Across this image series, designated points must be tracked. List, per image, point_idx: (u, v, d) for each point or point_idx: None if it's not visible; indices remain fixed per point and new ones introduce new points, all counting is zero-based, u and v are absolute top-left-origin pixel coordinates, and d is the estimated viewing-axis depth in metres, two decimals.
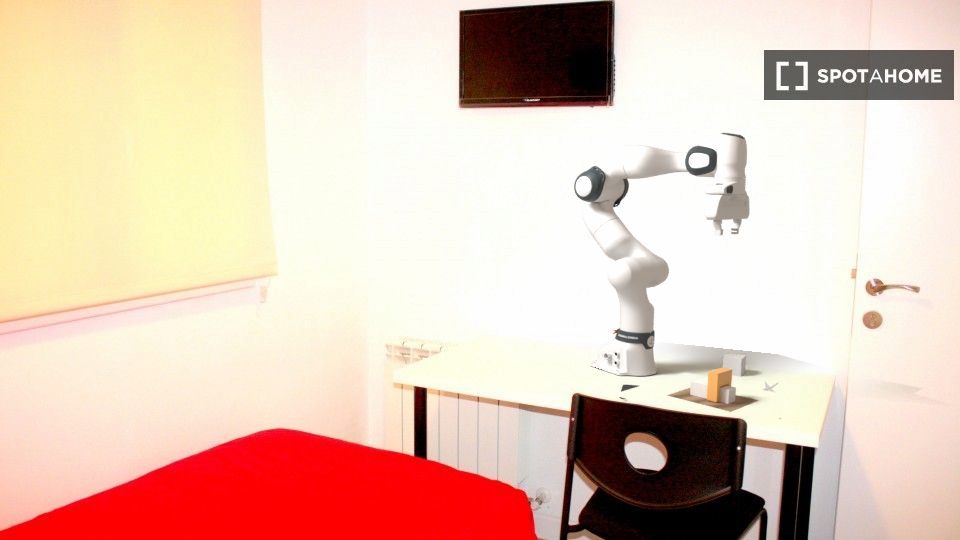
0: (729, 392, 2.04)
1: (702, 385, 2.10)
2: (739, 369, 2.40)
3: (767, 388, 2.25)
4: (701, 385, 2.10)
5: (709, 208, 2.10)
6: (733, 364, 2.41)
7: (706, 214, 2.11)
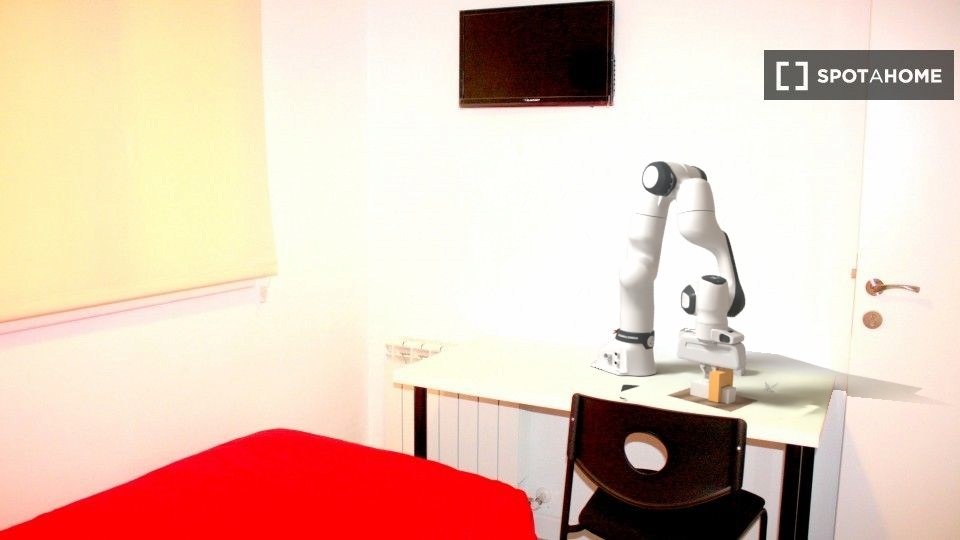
0: (729, 392, 2.04)
1: (702, 385, 2.10)
2: None
3: (767, 388, 2.26)
4: (701, 385, 2.10)
5: (742, 358, 2.02)
6: None
7: (740, 365, 2.01)
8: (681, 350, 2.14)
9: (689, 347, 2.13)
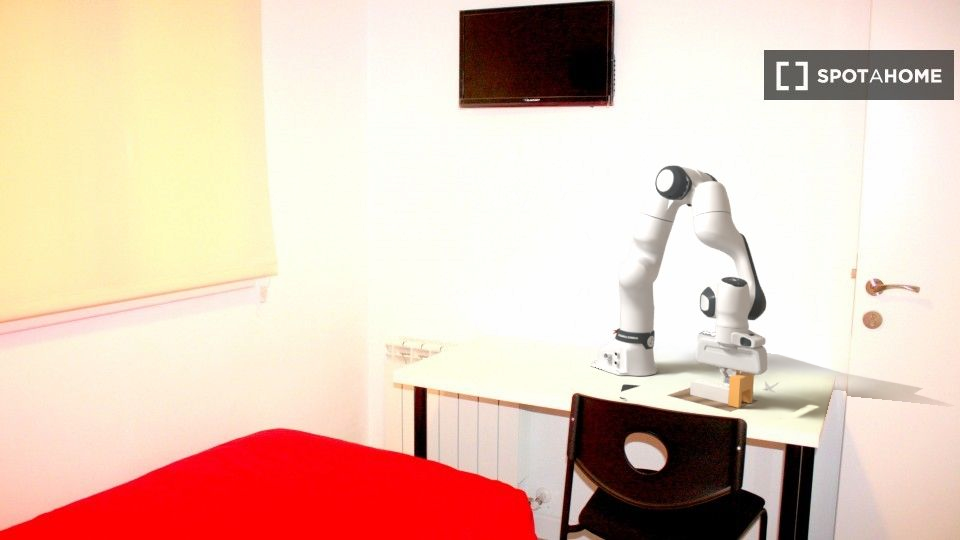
0: None
1: (702, 385, 2.10)
2: None
3: (767, 388, 2.26)
4: (701, 385, 2.10)
5: (763, 362, 1.97)
6: None
7: (762, 369, 1.97)
8: (699, 353, 2.10)
9: (708, 351, 2.08)
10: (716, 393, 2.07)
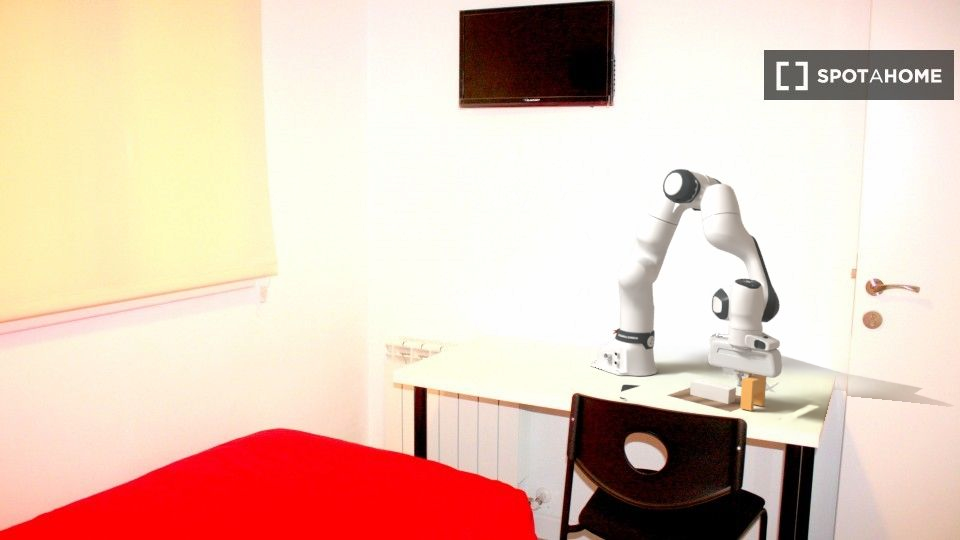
0: (729, 392, 2.04)
1: (702, 385, 2.10)
2: None
3: (767, 388, 2.26)
4: (701, 385, 2.10)
5: (778, 365, 1.95)
6: None
7: (776, 372, 1.94)
8: (712, 356, 2.07)
9: (721, 353, 2.05)
10: (716, 393, 2.07)
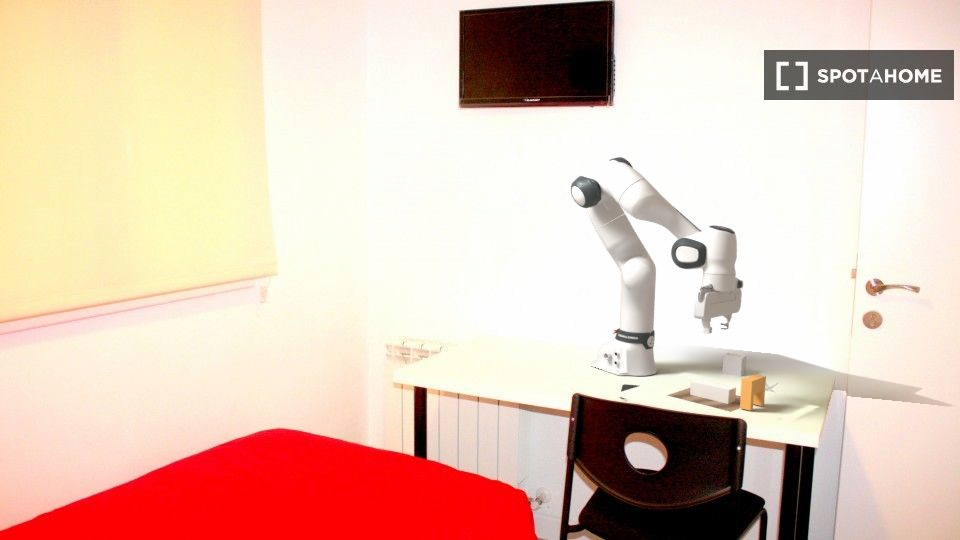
0: (729, 392, 2.04)
1: (702, 385, 2.10)
2: (739, 369, 2.40)
3: (767, 388, 2.26)
4: (701, 385, 2.10)
5: None
6: (734, 364, 2.41)
7: None
8: (707, 309, 2.00)
9: (712, 304, 2.01)
10: (716, 393, 2.07)
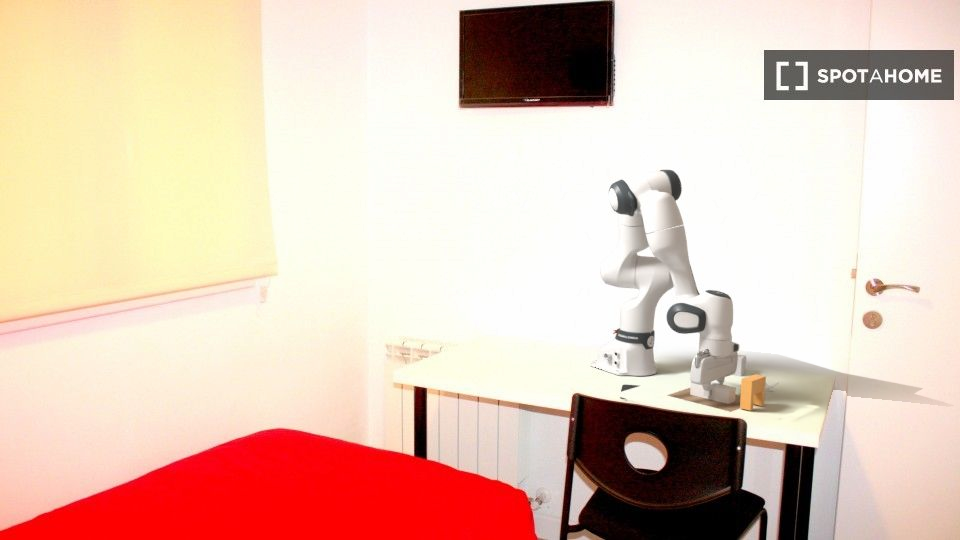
0: (729, 392, 2.04)
1: None
2: (739, 369, 2.40)
3: (767, 388, 2.26)
4: (701, 385, 2.10)
5: None
6: None
7: None
8: (704, 375, 2.02)
9: (708, 369, 2.04)
10: (716, 393, 2.07)
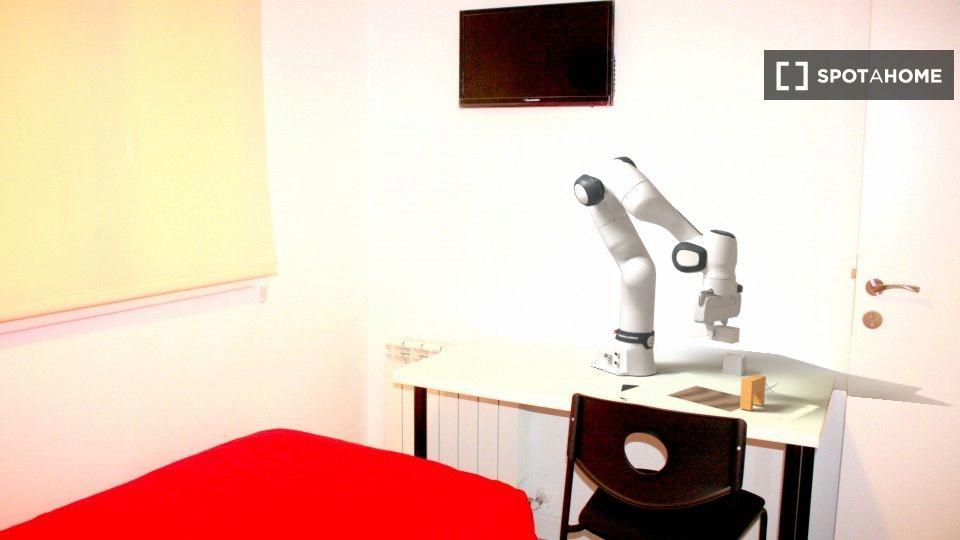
0: (733, 332, 2.02)
1: (705, 326, 2.08)
2: (739, 369, 2.40)
3: (767, 388, 2.26)
4: (704, 326, 2.08)
5: None
6: (734, 364, 2.41)
7: None
8: (707, 314, 2.00)
9: (712, 308, 2.02)
10: (720, 334, 2.05)
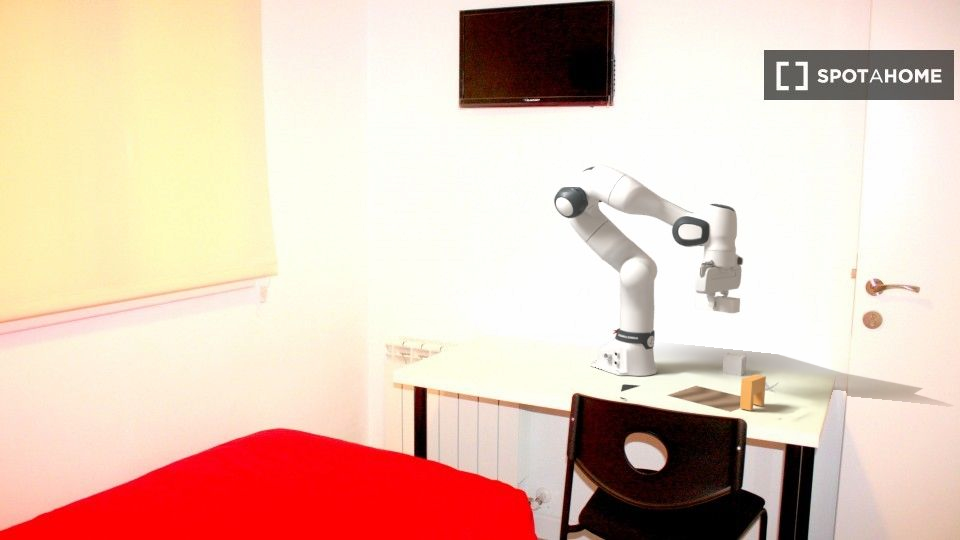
0: (733, 302, 2.09)
1: None
2: (739, 369, 2.40)
3: (767, 388, 2.26)
4: (706, 297, 2.15)
5: None
6: (734, 364, 2.41)
7: None
8: (708, 284, 2.07)
9: (713, 279, 2.08)
10: (721, 304, 2.11)
